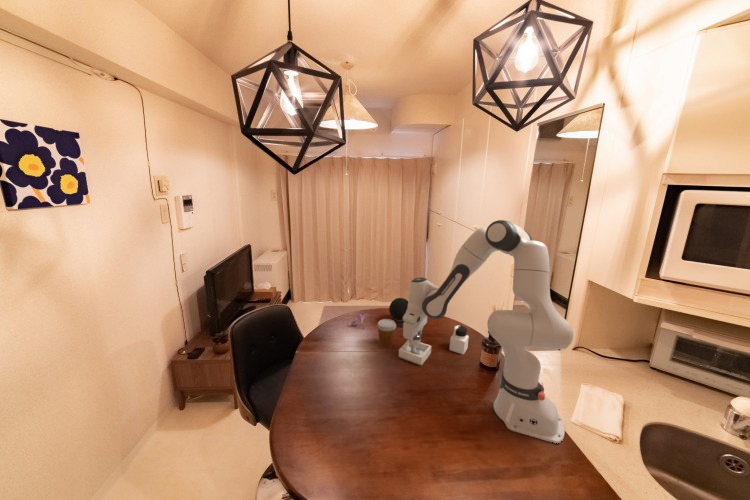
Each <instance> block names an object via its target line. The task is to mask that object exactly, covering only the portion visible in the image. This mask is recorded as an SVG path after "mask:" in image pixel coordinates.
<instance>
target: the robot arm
mask: <svg viewBox="0 0 750 500" xmlns="http://www.w3.org/2000/svg"><path fill="white" fill-rule="evenodd" d="M496 251H497V252H498V251H499V252H501V253H503V254H506V255H509V256H512V257H513V277H512V278H513V279H512V293H513V294H514V296H515V297H516V298H518V299H519V300H521V301H523V302H524V303H526V304H527V305H528V307H529V311H528V312H527V311H519V310H513V309H500V310H494V311H492V312H491V313H490V314H489V316H488V319H487V323H486V324H487V329H488V332H489V335H490V336H491V337H492V338H493V339H494V340H495V341H496V342H497V343H498V344H499V345H500V347H501V348H502V351H503V353H504V364H503V365H504V366H503V370H502V373H501V375H500V381H499V392H498V394H497V397H496V398H495V400H494V402H493V405H492V407H493V410H494V413H495V414H496V415H497V416H498V418H499V419H500V420H502V421H503V423H504V424H505V426H506V427H507V429H508V430H510V431H512V432H515V433H519V434H523V435H525V436H526V435H527V436H529V437H532V438H537V439H539V440H543V441H546V442H549V443H552V442H553V444H556V443H557V444H558V443H559V444H561V443H562V442H563V441H564V438H565V433H566V432H565V423H564V421H563V418H562V417H561V416H560V415H559V413H558V409H557V406H556V405H555V403H554V401H552V400H551V398H549V397H548V396H546V394H545V393H544V392H545V388H544V383H543V382H541V383H540V382H539V380H540V376H541V375H540V374H541V369H542V367H541V366H542V365H541V362H540V360H539V358H538V357H537V356H536V355H535V354H534V353H533V352H531V351H530V350H528V349H527V348H525V347H534V348H539V349H540V348H541V349H546V350H566V349H567V348H569V347H570V346H571V345H572V342H573V341H574V331H573V328H572V326H571V324H570V322H568V320H567V319H565V318H564V317H563V316H562V315H561V314H560V313H559V312H558V310H557V309H556V307H555V306H554V304H553V302H552V298H551V290H550V289H551V288H550V276H551V275H550V274H551V269H550V266H551V265H550V254H549V249H548V247H547V245H546V244H545V243H543V242H541V241H539V240H533V238H532V236H531V235H530V233H529V232H527V231H526V230H525V229H523V228H522V227H521V226H519V225H517V224H515V223H512V222H511V221H508V220H503V219H498V220H494V221H492V222H491V223H490V224H489V225H488V226H487V227H480V228H477V230H475V231H474V232H473V233H472V234H471V235H470V236H469V237H468V238H467V239H466V240H465V241H464V242H463V244H462V245H461V247H459V250H458V252H457V253H456V255H455V256H454V260H453V263H452V266H451V269H450V272H449V273H448V275H447V277H446V278H445V280H444V281H443V282H442V284H441V285H440V286H438V285H436V284H434V283H432V282H431V281H429V279H427V278H425V277H416V278H413V279H412V280H411V281H410V283H409V286H408V294H407V295H408V297H407V298H408V301H409V302H408V308H407V310H406V313H405V314H404V316H403V321H404V324H403V327H402V336H403V338H404V339H406V340H407V341H408V340H409V344H410V345H412V344H413V343H414V340H413V337H414V336H415V335H416V334H417V333H420V334H421V335H422V333H423V329H424V326H425V325H426V324H427V323H428V318H430V319H432V320H440V319H441V318H442V319H443V317H445V316H446V315H447V314H446V313H447V310H448V305H449V303H450V301H451V300H452V298H453V297H454V296H455V295H456V293H457V292H458V291H459V289H460V288H461V287H462V285H463V284H464V283H465V282H466V281H468V280H469V278H470V277H472V275H473V274H474V273H475V272H477V271H478V270H479V269H480V268H481V266H483V264H484V263H485V262H486V261H487V260H488V258H489V257H490V256H491V255H492V254H493V253H494V252H496ZM561 441H562V442H561Z"/></svg>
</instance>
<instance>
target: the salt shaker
mask: <svg viewBox="0 0 750 500" xmlns="http://www.w3.org/2000/svg"><path fill="white" fill-rule="evenodd" d="M413 340H414V343H413V344H412V345H411V353H413V354H416V355H420V342H421V340H422V333H421V334H420V333H417V334H416V335H415V336H414V337H413ZM421 343H422V342H421Z"/></svg>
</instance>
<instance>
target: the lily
mask: <svg viewBox="0 0 750 500" xmlns="http://www.w3.org/2000/svg"><path fill="white" fill-rule="evenodd" d="M369 316H370V314H368V312H366V313H364V314H361V313H357V314H356V316H355V319H353V320H351V321H350V323H351V324H350V326H353V325H354V324H356V323H359V324H361V326H362V329H363V330H365V327H364V324H363V321H364V319H365V318H367V317H369Z"/></svg>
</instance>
